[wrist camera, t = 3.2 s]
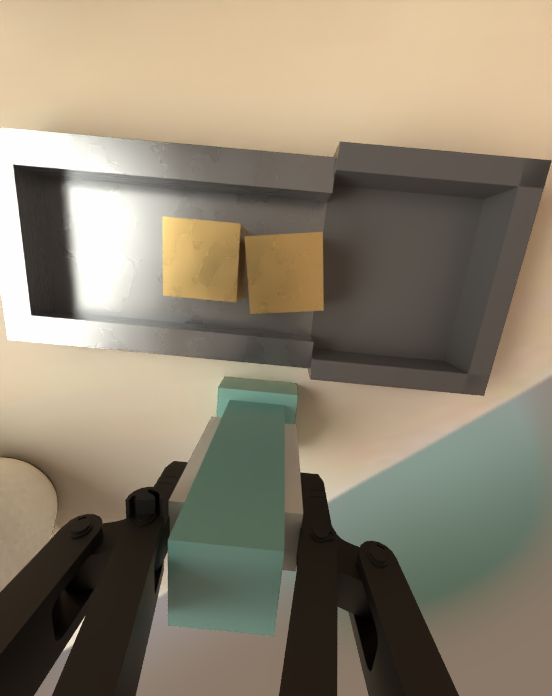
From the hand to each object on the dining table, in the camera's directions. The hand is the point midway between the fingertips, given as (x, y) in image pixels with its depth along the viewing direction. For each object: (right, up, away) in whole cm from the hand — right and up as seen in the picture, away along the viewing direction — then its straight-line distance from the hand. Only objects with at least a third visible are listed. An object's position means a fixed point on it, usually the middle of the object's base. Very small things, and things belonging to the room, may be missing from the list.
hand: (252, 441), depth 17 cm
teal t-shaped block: (0, +1, +4) cm, 4 cm away
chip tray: (+9, +10, +1) cm, 13 cm away
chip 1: (-2, +11, +1) cm, 11 cm away
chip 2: (+2, +10, +1) cm, 10 cm away
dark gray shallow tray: (-5, +11, +1) cm, 12 cm away
